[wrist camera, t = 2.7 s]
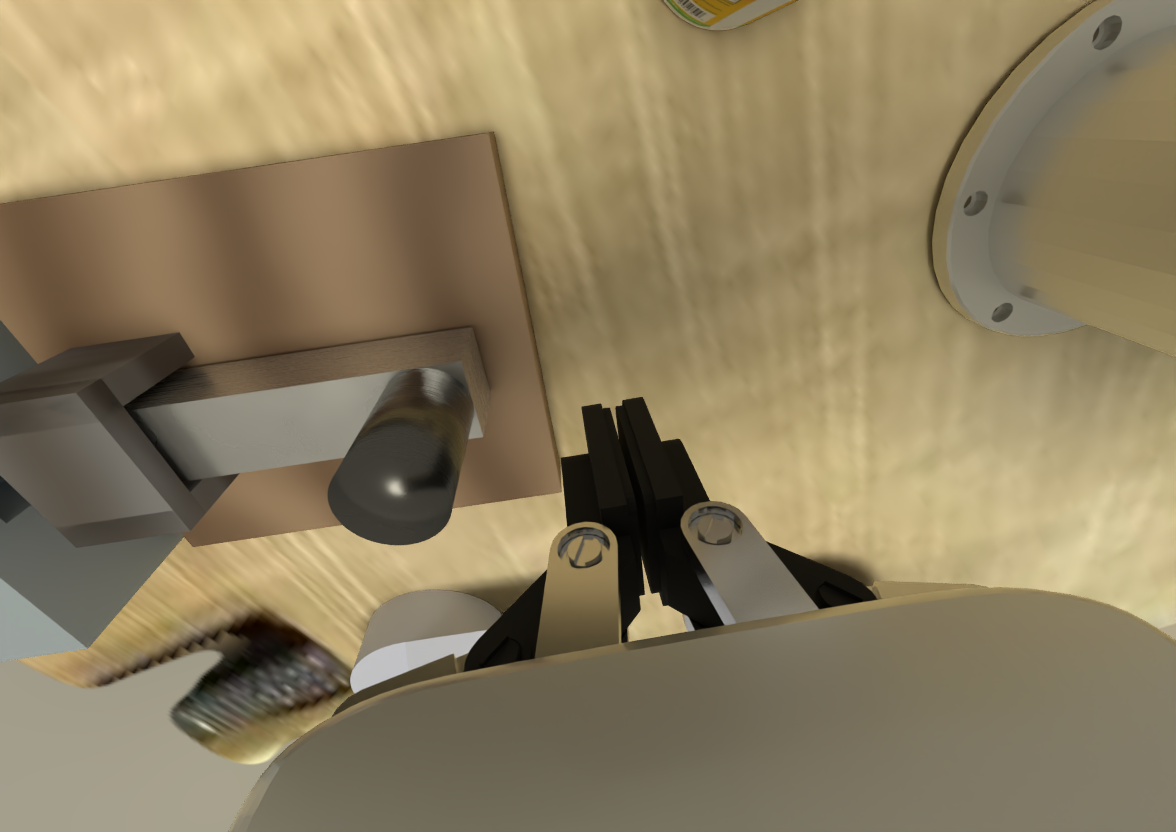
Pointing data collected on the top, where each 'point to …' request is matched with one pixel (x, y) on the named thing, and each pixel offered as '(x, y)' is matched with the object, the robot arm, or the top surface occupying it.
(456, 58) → the top surface
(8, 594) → the block
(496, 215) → the door panel
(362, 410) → the bolt
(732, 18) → the supplement bottle
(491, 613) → the wedge on round base
